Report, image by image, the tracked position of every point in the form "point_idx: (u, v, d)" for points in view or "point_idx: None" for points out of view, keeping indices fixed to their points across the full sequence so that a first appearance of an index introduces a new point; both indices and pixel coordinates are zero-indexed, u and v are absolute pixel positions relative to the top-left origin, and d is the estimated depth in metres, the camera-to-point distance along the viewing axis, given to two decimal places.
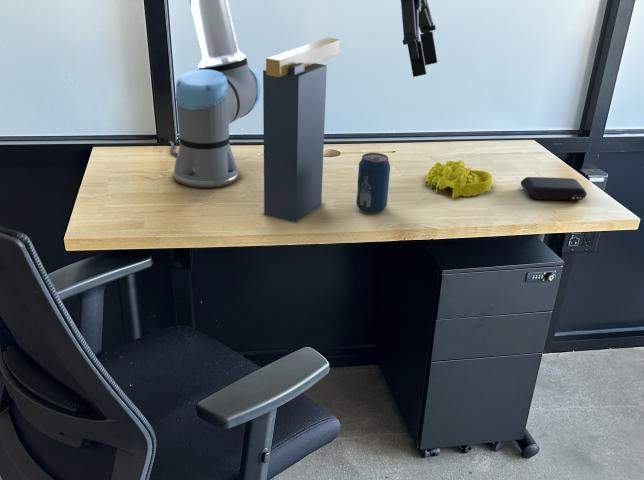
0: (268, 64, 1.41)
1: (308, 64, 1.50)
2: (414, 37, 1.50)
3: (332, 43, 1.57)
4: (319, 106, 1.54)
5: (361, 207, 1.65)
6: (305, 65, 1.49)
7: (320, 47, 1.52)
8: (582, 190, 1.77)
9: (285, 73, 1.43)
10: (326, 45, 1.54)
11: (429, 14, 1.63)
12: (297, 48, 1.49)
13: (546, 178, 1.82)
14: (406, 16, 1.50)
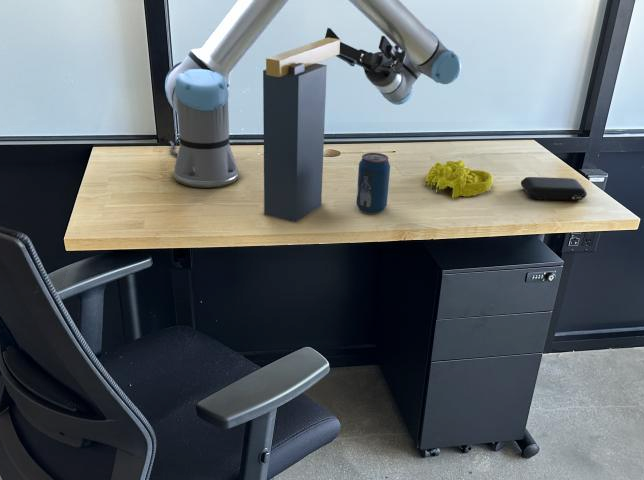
0: (268, 64, 1.41)
1: (308, 64, 1.50)
2: None
3: (332, 43, 1.57)
4: (319, 106, 1.54)
5: (361, 207, 1.65)
6: (305, 65, 1.49)
7: (320, 47, 1.52)
8: (582, 190, 1.77)
9: (285, 73, 1.43)
10: (326, 45, 1.54)
11: None
12: (297, 48, 1.49)
13: (546, 178, 1.82)
14: None
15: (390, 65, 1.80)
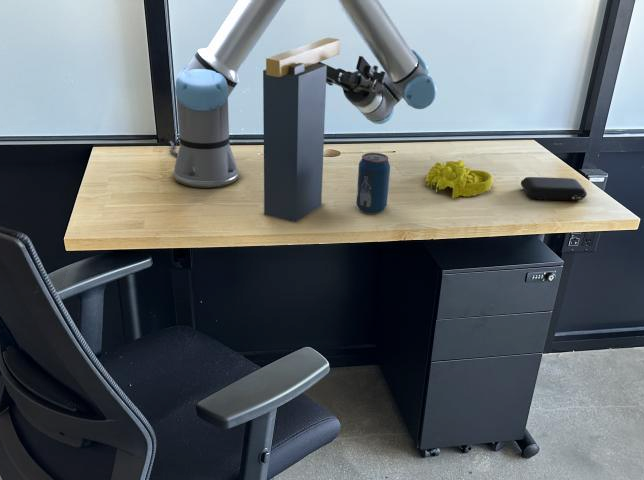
0: (268, 64, 1.41)
1: (308, 64, 1.50)
2: None
3: (332, 43, 1.57)
4: (319, 106, 1.54)
5: (361, 207, 1.65)
6: (305, 65, 1.49)
7: (320, 47, 1.52)
8: (582, 190, 1.77)
9: (285, 73, 1.43)
10: (326, 45, 1.54)
11: None
12: (297, 48, 1.49)
13: (546, 178, 1.82)
14: None
15: (369, 85, 1.74)
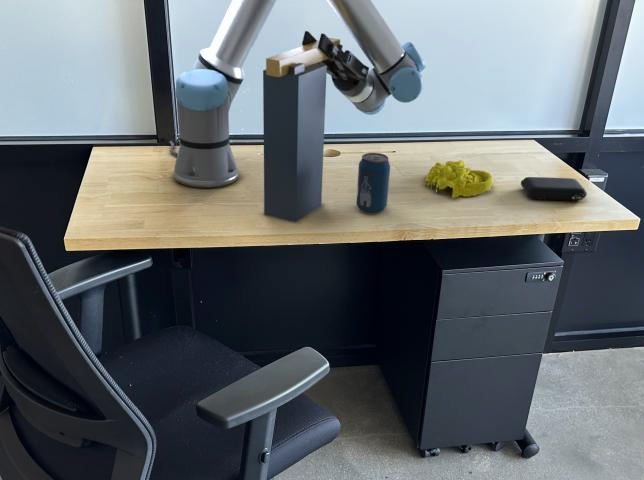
0: (268, 64, 1.41)
1: (308, 64, 1.50)
2: None
3: None
4: (319, 106, 1.54)
5: (361, 207, 1.65)
6: (305, 65, 1.49)
7: None
8: (582, 190, 1.77)
9: (285, 73, 1.43)
10: None
11: None
12: (297, 48, 1.49)
13: (546, 178, 1.82)
14: None
15: None
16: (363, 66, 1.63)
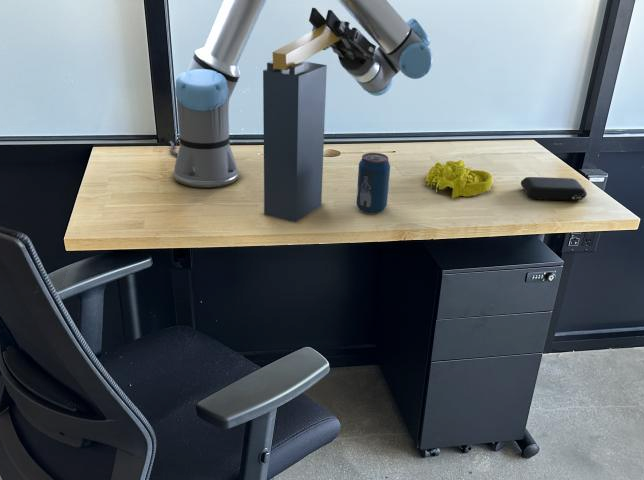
0: (275, 58, 1.43)
1: (314, 52, 1.51)
2: None
3: None
4: (319, 106, 1.54)
5: (361, 207, 1.65)
6: (311, 54, 1.50)
7: (326, 33, 1.53)
8: (582, 190, 1.77)
9: None
10: None
11: None
12: (303, 36, 1.50)
13: (546, 178, 1.82)
14: None
15: None
16: (370, 44, 1.63)
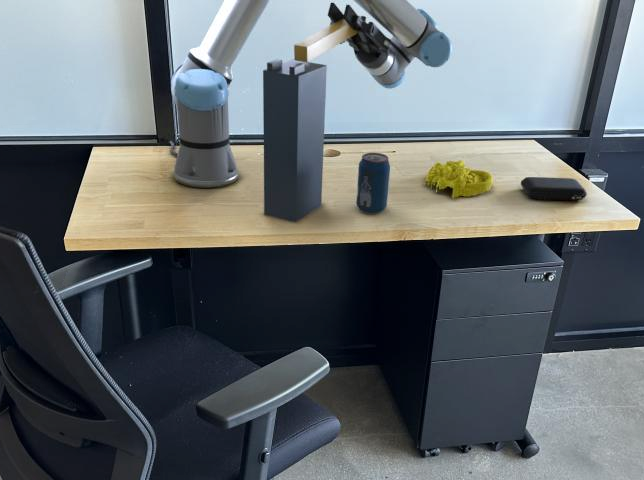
0: (296, 50, 1.49)
1: (333, 45, 1.57)
2: None
3: None
4: (319, 106, 1.54)
5: (361, 207, 1.65)
6: (330, 47, 1.56)
7: (344, 27, 1.59)
8: (582, 190, 1.77)
9: (312, 58, 1.51)
10: None
11: None
12: (322, 30, 1.57)
13: (546, 178, 1.82)
14: None
15: None
16: (385, 38, 1.69)
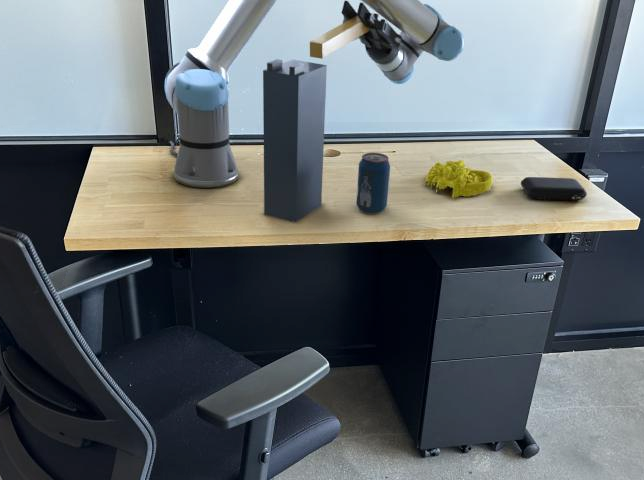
0: (311, 47, 1.54)
1: (347, 42, 1.62)
2: None
3: None
4: (319, 106, 1.54)
5: (361, 207, 1.65)
6: (344, 43, 1.62)
7: (357, 24, 1.64)
8: (582, 190, 1.77)
9: (327, 54, 1.56)
10: None
11: None
12: (336, 27, 1.62)
13: (546, 178, 1.82)
14: None
15: None
16: (396, 35, 1.74)
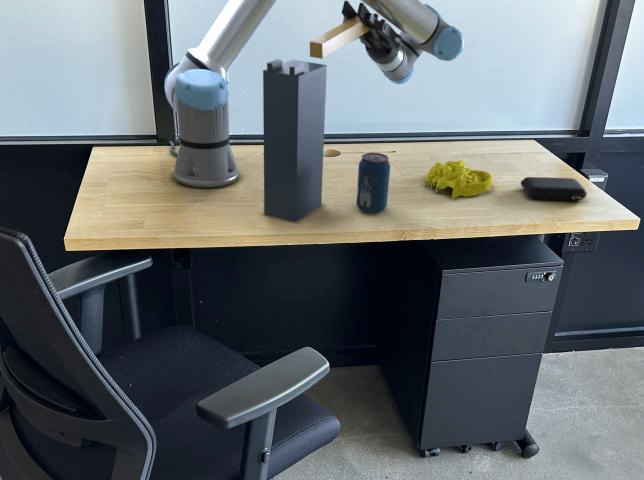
0: (311, 47, 1.54)
1: (347, 42, 1.62)
2: None
3: None
4: (319, 106, 1.54)
5: (361, 207, 1.65)
6: (344, 43, 1.62)
7: (357, 24, 1.64)
8: (582, 190, 1.77)
9: (327, 54, 1.56)
10: None
11: None
12: (336, 27, 1.62)
13: (546, 178, 1.82)
14: None
15: None
16: (396, 35, 1.74)
